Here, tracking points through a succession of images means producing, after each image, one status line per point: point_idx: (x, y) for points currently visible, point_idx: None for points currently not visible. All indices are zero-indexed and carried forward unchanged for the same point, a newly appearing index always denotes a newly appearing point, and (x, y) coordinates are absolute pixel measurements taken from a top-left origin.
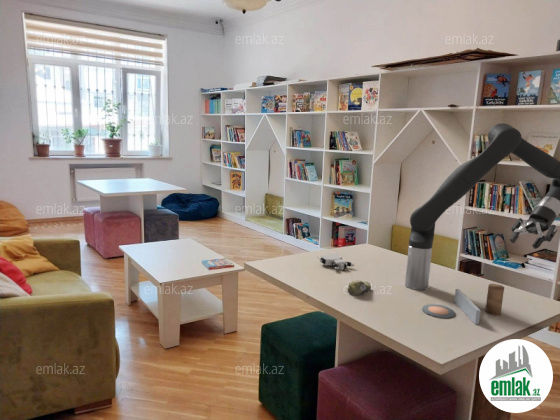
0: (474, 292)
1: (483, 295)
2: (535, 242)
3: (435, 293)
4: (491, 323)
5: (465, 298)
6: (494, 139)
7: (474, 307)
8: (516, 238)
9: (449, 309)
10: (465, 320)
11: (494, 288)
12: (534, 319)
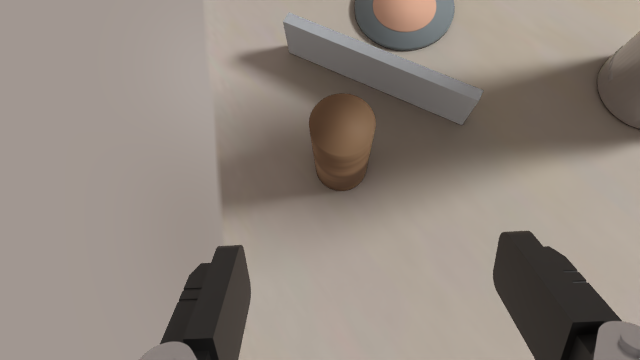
0: None
1: None
2: (216, 272)
3: (554, 106)
4: (279, 92)
5: (384, 51)
6: None
7: (309, 21)
8: (527, 326)
9: (400, 40)
10: None
11: (327, 97)
12: None
